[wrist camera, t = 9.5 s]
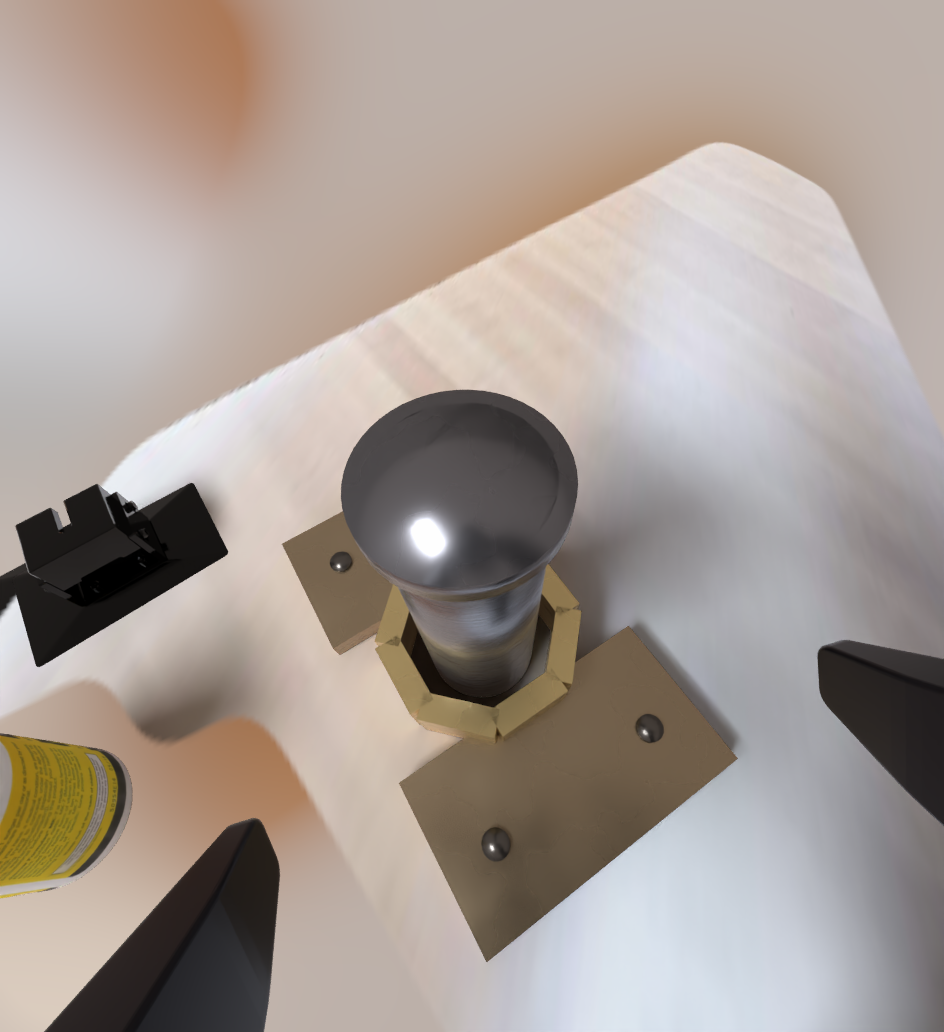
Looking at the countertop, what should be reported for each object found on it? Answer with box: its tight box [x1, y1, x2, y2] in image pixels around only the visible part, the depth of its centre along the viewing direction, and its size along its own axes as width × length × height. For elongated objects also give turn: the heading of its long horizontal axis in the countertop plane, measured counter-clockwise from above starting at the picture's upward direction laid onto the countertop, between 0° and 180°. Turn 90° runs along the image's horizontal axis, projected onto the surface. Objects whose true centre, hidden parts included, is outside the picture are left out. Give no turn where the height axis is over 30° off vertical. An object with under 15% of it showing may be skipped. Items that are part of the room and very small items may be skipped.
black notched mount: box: [0, 483, 228, 667], centre depth 24 cm, size 12×7×5 cm, turn 126°
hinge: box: [282, 512, 738, 962], centre depth 21 cm, size 18×11×2 cm, turn 32°
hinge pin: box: [341, 390, 578, 697], centre depth 17 cm, size 5×5×13 cm
